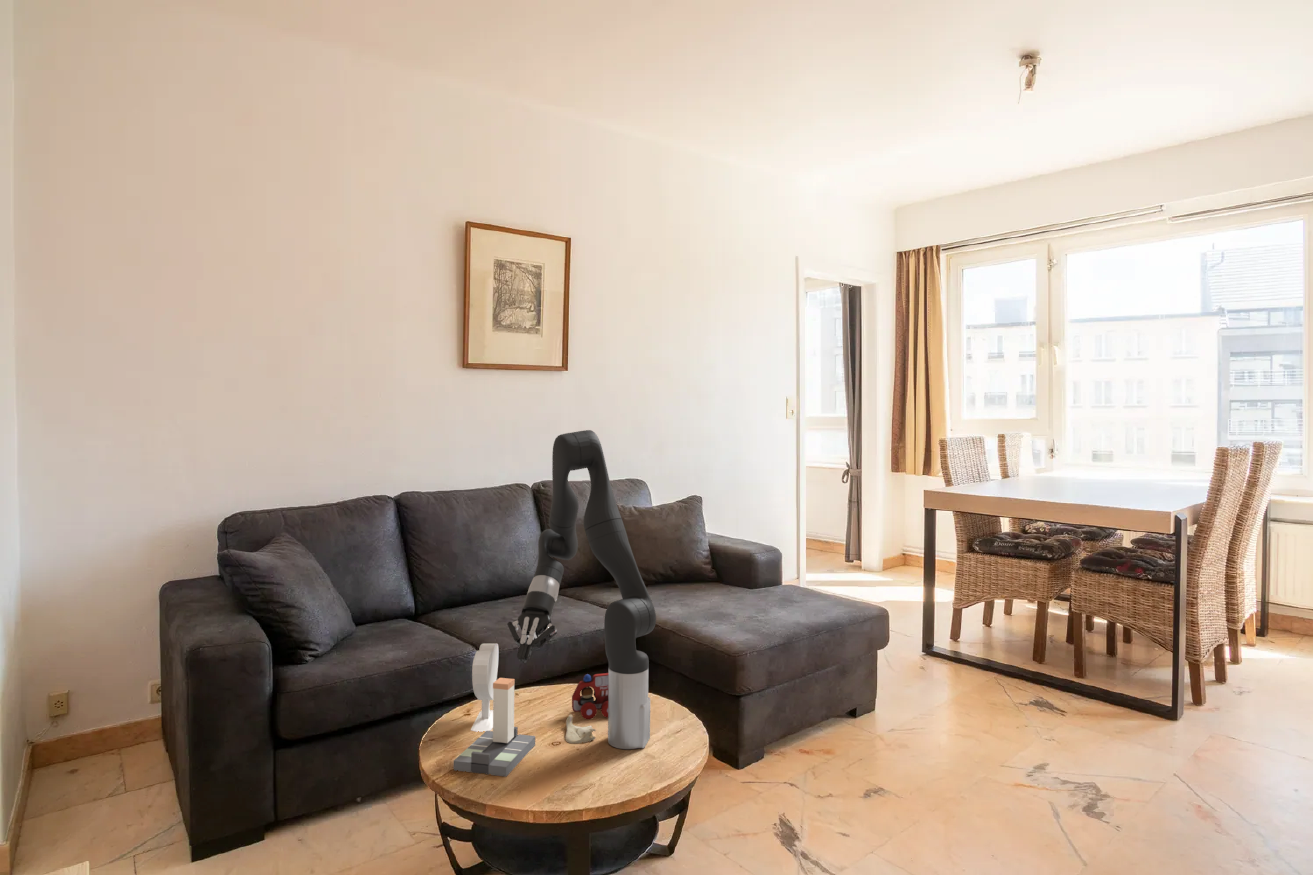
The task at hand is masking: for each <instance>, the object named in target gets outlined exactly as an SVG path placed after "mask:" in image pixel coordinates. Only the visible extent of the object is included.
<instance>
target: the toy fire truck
mask: <svg viewBox="0 0 1313 875" xmlns="http://www.w3.org/2000/svg"><path fill="white" fill-rule="evenodd" d="M608 681H609V672H606V673H595V674H593V675H592V676H591V675H590V674H588V673H587V674H584V675H583V678H582V680H580V681H579V682H578V683H577V685H576V687H575V689H574V691H573V694H572V695H571V709H572V711H573V712H575V713H579V712H580V715H581V717H582V718H584V719H585V720H592V719H594V718H595V717H596V715H597V713H598V710H600V712H601V715H602V716H603V717H605V718H607V719H608Z"/></svg>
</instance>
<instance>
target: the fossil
mask: <svg viewBox="0 0 1313 875" xmlns="http://www.w3.org/2000/svg"><path fill="white" fill-rule="evenodd" d="M573 721H574V716H573V714H569V715H568V717H567V718H566V721H565V725H566V726H565V727H566V733H565V737H564V738H565V741H566V743H568V744H582V742H583V743H588V741H589V742H592V741H591V740H593V741H594V740H595V739H596V737H595V736H594V735H593V732H596V731H597V730H596V729H595V728H593V726H592V725H588V726H578V725H574V724H573Z"/></svg>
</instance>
